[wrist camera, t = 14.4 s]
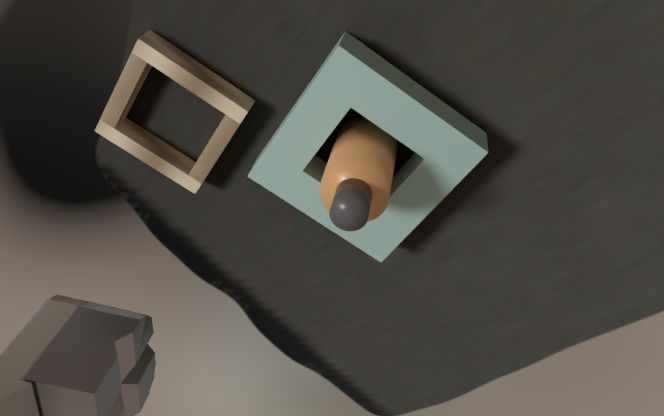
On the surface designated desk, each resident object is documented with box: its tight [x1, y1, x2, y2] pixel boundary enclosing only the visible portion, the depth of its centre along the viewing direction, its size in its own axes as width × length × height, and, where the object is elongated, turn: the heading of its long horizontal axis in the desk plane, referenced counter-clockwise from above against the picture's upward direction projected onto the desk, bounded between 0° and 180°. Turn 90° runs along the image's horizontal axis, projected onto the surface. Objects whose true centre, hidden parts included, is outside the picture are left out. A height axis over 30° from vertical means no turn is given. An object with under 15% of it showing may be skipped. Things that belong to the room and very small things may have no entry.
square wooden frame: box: [95, 30, 255, 194], centre depth 46 cm, size 9×9×2 cm
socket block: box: [248, 31, 488, 262], centre depth 44 cm, size 12×12×3 cm
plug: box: [319, 117, 397, 231], centre depth 42 cm, size 5×5×10 cm
